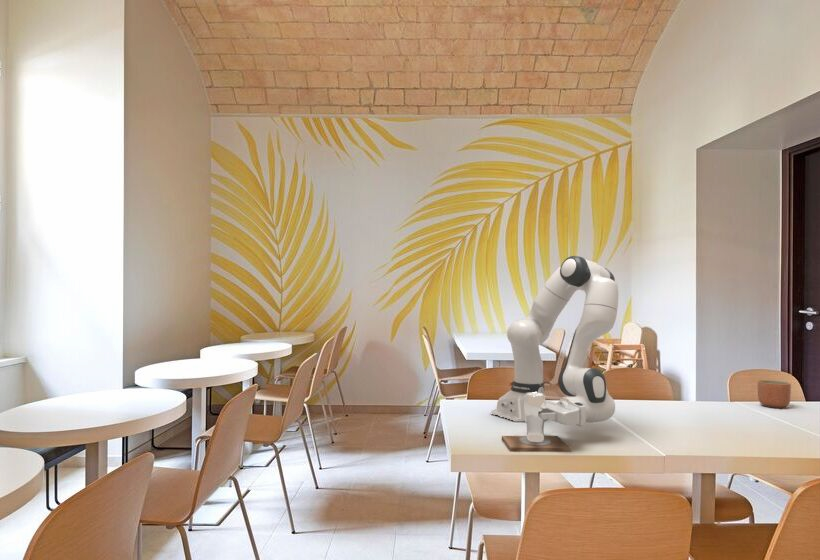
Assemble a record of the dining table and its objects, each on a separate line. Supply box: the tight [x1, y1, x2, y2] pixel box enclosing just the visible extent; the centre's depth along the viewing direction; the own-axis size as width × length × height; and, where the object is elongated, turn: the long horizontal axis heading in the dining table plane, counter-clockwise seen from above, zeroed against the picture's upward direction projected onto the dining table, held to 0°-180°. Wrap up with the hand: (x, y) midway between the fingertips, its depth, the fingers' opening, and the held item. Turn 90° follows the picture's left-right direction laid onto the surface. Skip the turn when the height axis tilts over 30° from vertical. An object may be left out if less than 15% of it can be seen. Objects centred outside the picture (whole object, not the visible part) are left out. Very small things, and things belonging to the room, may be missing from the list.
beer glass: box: [524, 392, 547, 443], centre depth 182 cm, size 7×7×15 cm
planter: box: [757, 379, 792, 409], centre depth 248 cm, size 12×12×11 cm
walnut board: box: [501, 435, 572, 453], centre depth 182 cm, size 19×14×2 cm
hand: (532, 412), depth 182 cm, fingers open, 8 cm apart
